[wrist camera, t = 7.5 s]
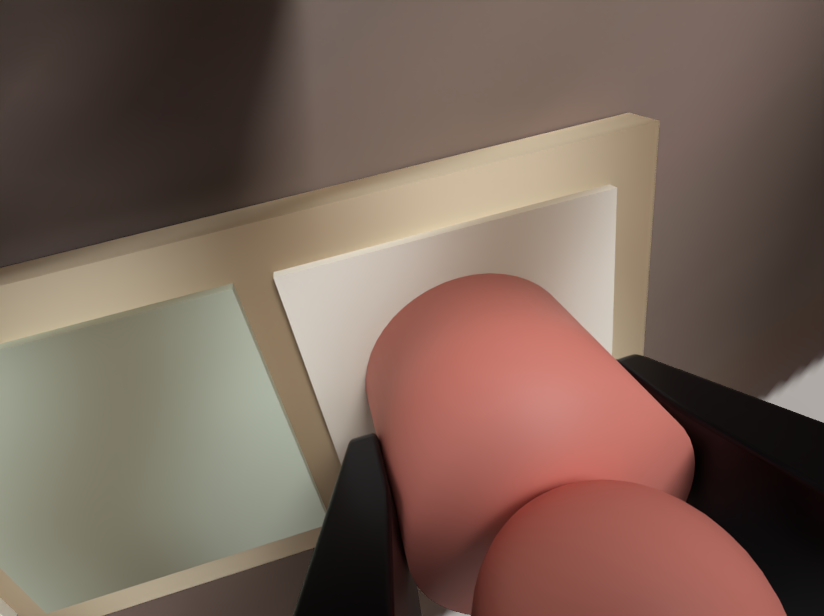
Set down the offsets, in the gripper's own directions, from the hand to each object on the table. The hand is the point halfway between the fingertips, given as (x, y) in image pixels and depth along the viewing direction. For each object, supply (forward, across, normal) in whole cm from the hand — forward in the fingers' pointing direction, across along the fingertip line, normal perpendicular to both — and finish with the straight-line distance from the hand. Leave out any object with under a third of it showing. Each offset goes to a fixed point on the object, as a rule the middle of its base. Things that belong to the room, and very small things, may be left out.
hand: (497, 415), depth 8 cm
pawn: (+1, 0, 0) cm, 1 cm away
